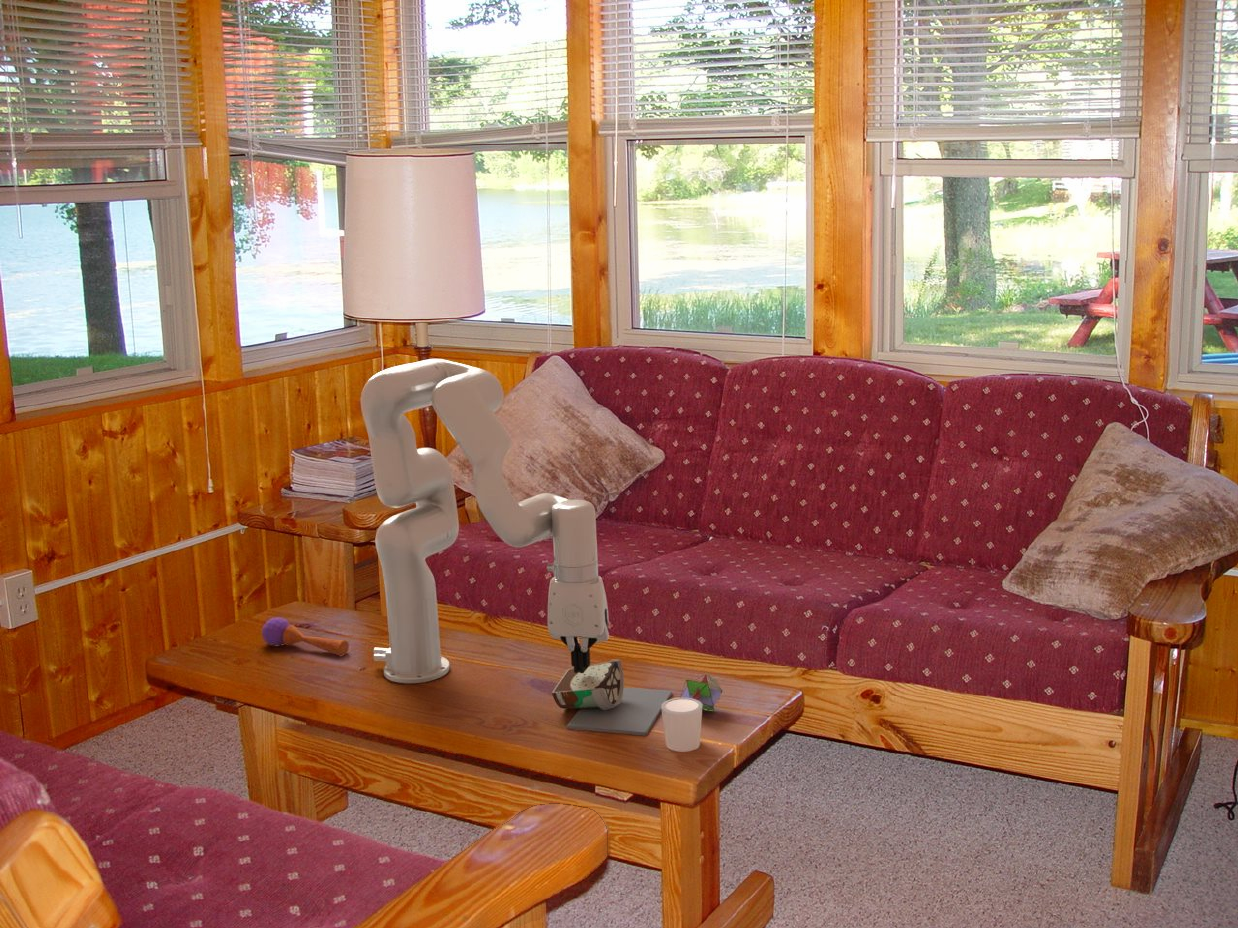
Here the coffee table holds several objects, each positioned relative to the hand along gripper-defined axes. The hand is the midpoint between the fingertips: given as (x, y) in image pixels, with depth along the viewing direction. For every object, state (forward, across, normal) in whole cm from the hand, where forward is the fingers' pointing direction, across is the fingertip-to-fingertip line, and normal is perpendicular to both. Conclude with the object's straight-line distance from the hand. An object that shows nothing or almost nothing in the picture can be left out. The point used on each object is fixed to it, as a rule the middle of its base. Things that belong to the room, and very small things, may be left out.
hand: (581, 670), depth 235 cm
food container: (+5, -4, 0) cm, 6 cm away
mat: (+7, +7, 0) cm, 10 cm away
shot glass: (+7, +21, -11) cm, 25 cm away
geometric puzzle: (+7, +21, +2) cm, 22 cm away
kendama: (+8, -65, +17) cm, 68 cm away
